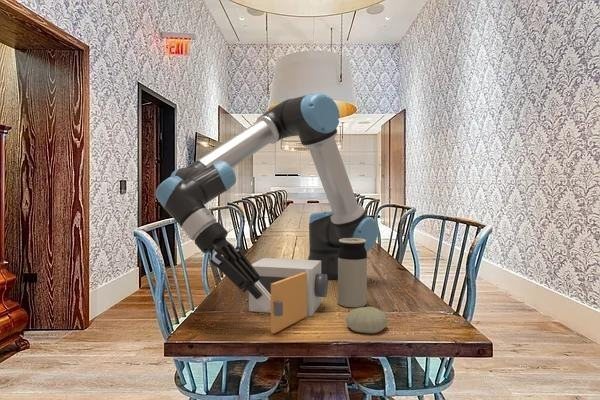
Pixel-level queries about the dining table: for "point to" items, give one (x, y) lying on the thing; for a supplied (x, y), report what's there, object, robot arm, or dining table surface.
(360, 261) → the travel mug
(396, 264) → the dining table surface
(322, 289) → the case
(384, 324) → the sea urchin shell
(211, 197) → the robot arm
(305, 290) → the hatch
